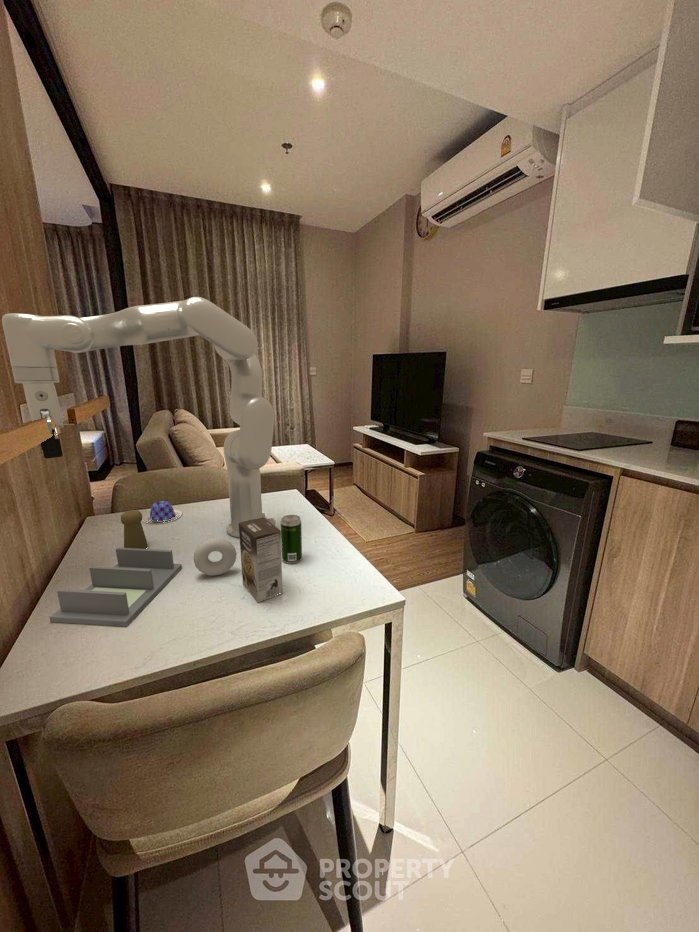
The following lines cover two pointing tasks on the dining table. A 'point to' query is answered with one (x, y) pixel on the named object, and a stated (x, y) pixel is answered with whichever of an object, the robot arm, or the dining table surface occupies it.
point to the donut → (211, 546)
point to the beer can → (291, 539)
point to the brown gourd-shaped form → (133, 530)
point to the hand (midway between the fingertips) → (52, 453)
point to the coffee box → (261, 558)
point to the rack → (118, 589)
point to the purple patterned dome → (162, 511)
